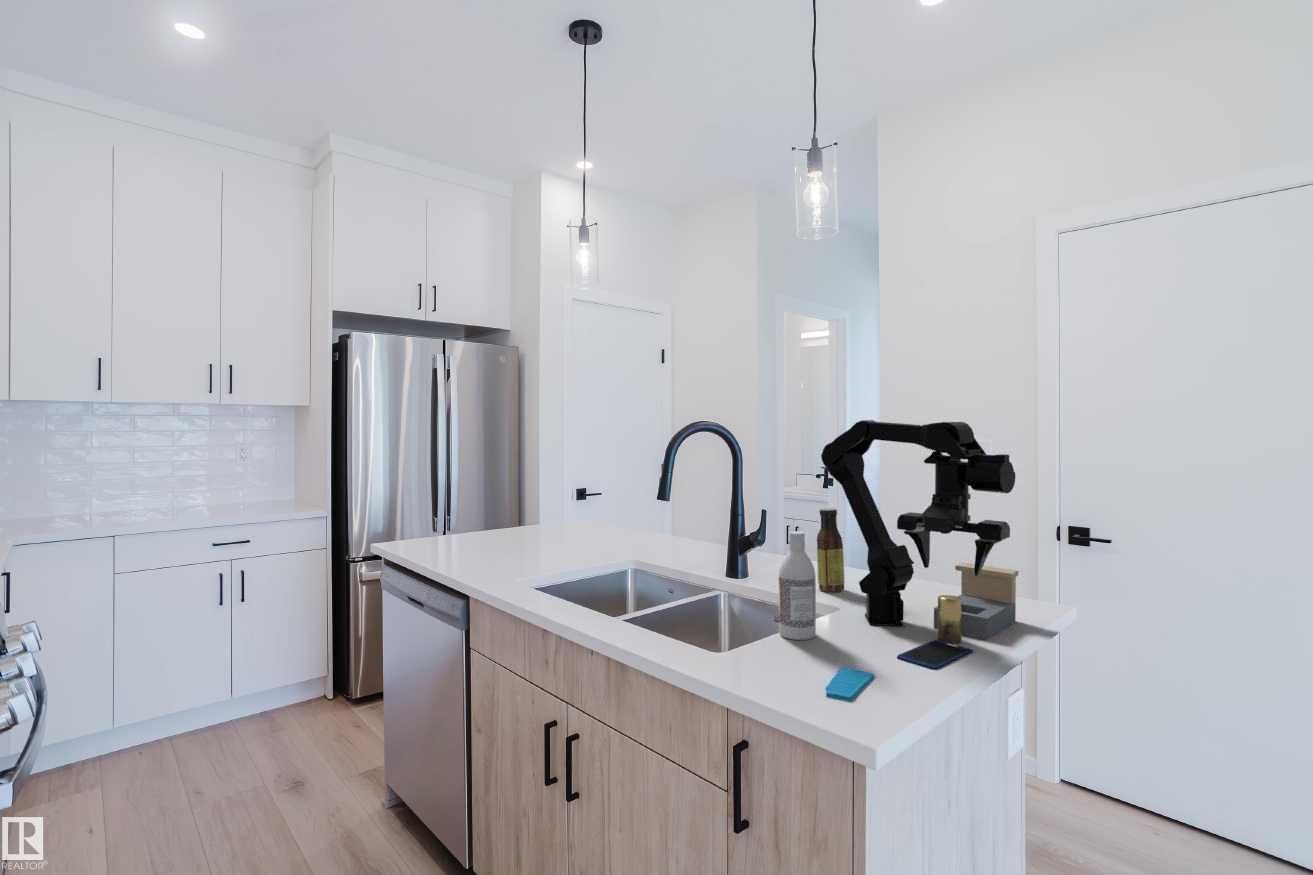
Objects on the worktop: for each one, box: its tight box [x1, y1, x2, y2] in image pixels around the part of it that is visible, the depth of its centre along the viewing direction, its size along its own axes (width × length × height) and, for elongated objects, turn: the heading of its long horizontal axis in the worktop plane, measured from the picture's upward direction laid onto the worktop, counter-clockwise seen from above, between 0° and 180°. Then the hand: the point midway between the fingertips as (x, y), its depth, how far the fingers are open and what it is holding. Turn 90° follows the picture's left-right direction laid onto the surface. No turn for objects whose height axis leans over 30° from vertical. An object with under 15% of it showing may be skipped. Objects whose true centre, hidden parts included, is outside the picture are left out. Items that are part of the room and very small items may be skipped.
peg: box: [937, 594, 962, 645], centre depth 123 cm, size 4×4×8 cm
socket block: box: [933, 562, 1019, 641], centre depth 132 cm, size 16×11×10 cm
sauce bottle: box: [816, 507, 845, 594], centre depth 159 cm, size 6×6×20 cm
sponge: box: [825, 666, 875, 702], centre depth 103 cm, size 2×12×6 cm
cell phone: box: [896, 639, 974, 671], centre depth 115 cm, size 7×14×1 cm, turn 129°
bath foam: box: [778, 530, 817, 641], centre depth 126 cm, size 7×7×20 cm
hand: (951, 571), depth 122 cm, fingers open, 9 cm apart
